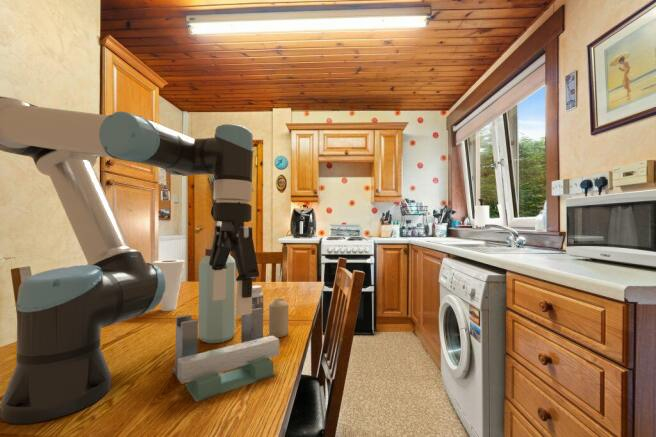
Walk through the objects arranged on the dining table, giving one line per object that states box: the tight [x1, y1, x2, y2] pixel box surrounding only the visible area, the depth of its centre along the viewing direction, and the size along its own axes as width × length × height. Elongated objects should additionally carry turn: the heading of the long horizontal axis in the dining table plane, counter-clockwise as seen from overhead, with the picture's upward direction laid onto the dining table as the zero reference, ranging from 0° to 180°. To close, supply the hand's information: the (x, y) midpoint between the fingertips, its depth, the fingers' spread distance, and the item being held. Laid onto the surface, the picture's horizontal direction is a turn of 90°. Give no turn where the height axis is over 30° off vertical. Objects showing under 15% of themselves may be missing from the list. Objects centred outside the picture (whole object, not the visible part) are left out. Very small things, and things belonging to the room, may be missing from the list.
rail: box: [176, 335, 280, 385], centre depth 64 cm, size 20×3×4 cm, turn 128°
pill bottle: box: [252, 285, 264, 309], centre depth 110 cm, size 6×6×10 cm
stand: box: [172, 304, 264, 380], centre depth 71 cm, size 19×6×12 cm, turn 128°
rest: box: [185, 358, 276, 403], centre depth 64 cm, size 16×7×3 cm, turn 128°
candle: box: [268, 298, 289, 338], centre depth 91 cm, size 6×6×10 cm
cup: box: [152, 259, 186, 312], centre depth 118 cm, size 11×11×18 cm
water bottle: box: [198, 247, 237, 344], centre depth 88 cm, size 10×10×25 cm
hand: (230, 306), depth 64 cm, fingers open, 13 cm apart
